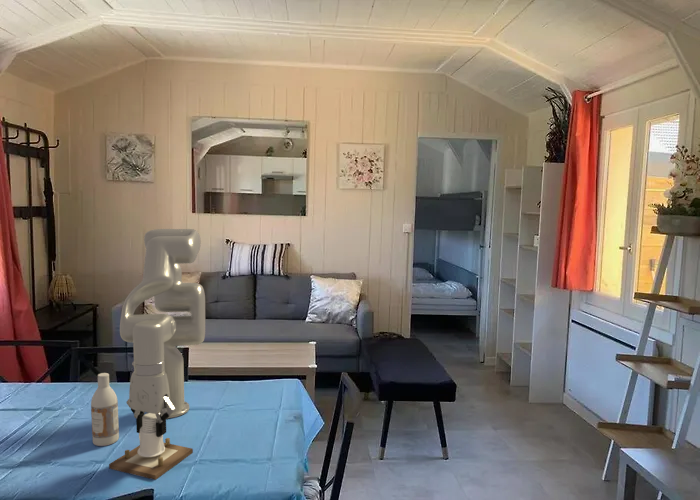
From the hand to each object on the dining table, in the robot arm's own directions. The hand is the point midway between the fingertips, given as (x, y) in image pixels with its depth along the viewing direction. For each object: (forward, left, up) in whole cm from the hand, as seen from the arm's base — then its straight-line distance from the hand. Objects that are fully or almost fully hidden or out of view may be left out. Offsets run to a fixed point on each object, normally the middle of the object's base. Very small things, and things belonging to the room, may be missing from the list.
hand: (151, 432), depth 143 cm
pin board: (0, 0, -8) cm, 8 cm away
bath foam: (-20, +4, -8) cm, 22 cm away
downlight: (0, 0, -6) cm, 6 cm away
